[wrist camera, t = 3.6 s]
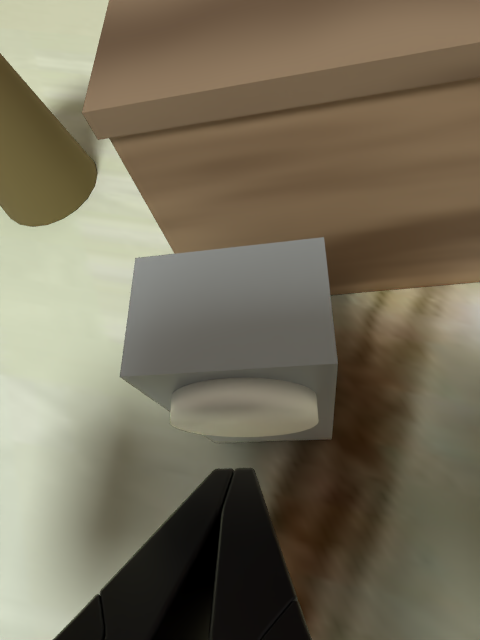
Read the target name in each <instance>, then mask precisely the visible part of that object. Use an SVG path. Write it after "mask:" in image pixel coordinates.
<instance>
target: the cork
mask: <svg viewBox="0 0 480 640" xmlns="http://www.w3.org/2000/svg"><path fill="white" fill-rule="evenodd" d="M96 177H97V170H96V166H95V163H94V162H93V160H92V159H91V158H90V157H89V155H88V154H87V153H86V152H85V151H84V150H83V148H82V147H81V146H80V145H79V144H78V143H77V141H76V140H75V139H74V138H73V137H72V136H71V135H70V133H69V132H68V131H67V130H66V129H65V128H64V126H63V125H62V124H61V123H60V122H59V121H58V119H57V118H56V117H55V116H54V115H53V114H52V113H51V111H50V110H49V109H48V108H47V107H46V106H45V104H44V103H43V102H42V101H41V100H40V99H39V98H38V96H37V95H36V94H35V93H34V92H33V91H32V89H31V88H30V87H29V86H28V85H27V84H26V82H25V81H24V80H23V79H22V78H21V77H20V76H19V74H18V73H17V72H16V71H15V70H14V69H13V67H12V66H11V65H10V64H9V63H8V62H7V61H6V59H5V58H4V57H3V56H2V55H1V54H0V206H1V207H2V208H3V209H4V211H5V212H6V213H7V215H8V216H9V217H10V218H11V219H12V220H14V221H15V222H17V223H18V224H21V225H26V226H32V227H33V226H41V225H48V224H50V223H53V222H56V221H58V220H61V219H63V218H65V217H66V216H68V215H69V214H71V213H72V212H74V211H75V210H77V209H78V208H79V207H80V206H81V205H82V203H83V202H84V201H85V200H86V199H87V198H88V197H89V195H90V193H91V191H92V190H93V188H94V186H95V182H96Z"/></svg>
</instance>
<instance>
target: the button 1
mask: <svg viewBox="0 0 480 640" xmlns="http://www.w3.org/2000/svg"><path fill="white" fill-rule="evenodd" d="M337 369H338V360H337V351H336V342H335V332H334V323H333V314H332V305H331V296H330V287H329V278H328V269H327V260H326V251H325V241H324V237H321V238H312V239H303V240H294V241H285V242H276V243H267V244H258V245H249V246H240V247H231V248H222V249H213V250H204V251H195V252H186V253H177V254H168V255H159V256H150V257H141V258H135V265H134V273H133V280H132V288H131V295H130V303H129V311H128V318H127V326H126V333H125V341H124V349H123V356H122V364H121V372H120V377H121V378H122V379H123V380H125V381H126V382H128V383H129V384H131V385H132V386H134V387H135V388H136V389H138V390H139V391H141V392H142V393H144V394H145V395H147V396H148V397H149V398H151V399H152V400H154V401H155V402H157V403H158V404H160V405H161V406H162V407H164V408H165V409H167V410H168V411H170V424H171V425H172V426H173V427H175V428H177V429H180V430H183V431H187V432H191V433H196V434H203V435H204V436H206V437H207V438H209V439H210V440H211V441H213V442H214V443H231V442H262V441H293V440H324V439H332V430H333V418H334V406H335V393H336V381H337Z"/></svg>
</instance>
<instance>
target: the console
mask: <svg viewBox="0 0 480 640" xmlns="http://www.w3.org/2000/svg"><path fill="white" fill-rule="evenodd" d="M82 114H83V115H84V117H85V119H86V120H87V122H88V124H89V125H90V127H91V129H92V131H93V132H94V134H95V136H96V137H97V139H98V140H100V139H106V138H109V139H110V140H111V142H112V144H113V146H114V147H115V149H116V151H117V153H118V155H119V156H120V158H121V160H122V162H123V163H124V165H125V167H126V169H127V170H128V172H129V174H130V176H131V177H132V179H133V181H134V183H135V185H136V186H137V188H138V190H139V192H140V193H141V195H142V197H143V199H144V200H145V202H146V204H147V206H148V207H149V209H150V211H151V213H152V215H153V216H154V218H155V220H156V222H157V223H158V225H159V227H160V229H161V230H162V232H163V234H164V236H165V237H166V239H167V241H168V243H169V245H170V246H171V248H172V250H173V252H174V253H175V254H177V253H186V252H195V251H204V250H213V249H222V248H231V247H240V246H249V245H258V244H267V243H276V242H285V241H294V240H303V239H312V238H321V237H324V241H325V251H326V260H327V269H328V278H329V287H330V295H337V294H348V293H360V292H371V291H382V290H394V289H405V288H416V287H428V286H439V285H450V284H461V283H473V282H480V0H109V3H108V7H107V12H106V16H105V20H104V24H103V28H102V32H101V36H100V40H99V44H98V48H97V53H96V57H95V61H94V65H93V69H92V73H91V77H90V81H89V85H88V89H87V94H86V98H85V102H84V106H83V110H82Z"/></svg>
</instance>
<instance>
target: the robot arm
mask: <svg viewBox="0 0 480 640" xmlns="http://www.w3.org/2000/svg"><path fill="white" fill-rule="evenodd" d="M53 640H312V638H311V636H310V633H309V630H308V628H307V625H306V622H305V619H304V616H303V613H302V610H301V607H300V604H299V602H298V600H297V596H296V593H295V590H294V587H293V584H292V581H291V578H290V575H289V572H288V569H287V566H286V563H285V560H284V557H283V554H282V551H281V548H280V545H279V542H278V539H277V536H276V533H275V530H274V527H273V524H272V521H271V518H270V515H269V512H268V509H267V506H266V503H265V500H264V497H263V494H262V491H261V488H260V485H259V482H258V479H257V476H256V473H255V471H254V469H253V468H237V469H235V470H233V469H231V468H229V469H215V470H214V471H212V473H211V474H210V475H209V476H208V477H207V478H206V479H205V480H204V481H203V482H202V483H201V484H200V485H199V486H198V487H197V488H196V490H195V491H194V492H193V493H192V494H191V495H190V496H189V497H188V498H187V499H186V500H185V501H184V502H183V503H182V504H181V505H180V507H179V508H178V509H177V510H176V511H175V512H174V513H173V514H172V515H171V516H170V517H169V518H168V519H167V520H166V521H165V523H164V524H163V525H162V526H161V527H160V528H159V529H158V530H157V531H156V532H155V533H154V534H153V535H152V536H151V537H150V538H149V540H148V541H147V542H146V543H145V544H144V545H143V546H142V547H141V548H140V549H139V550H138V551H137V552H136V553H135V554H134V555H133V557H132V558H131V559H130V560H129V561H128V562H127V563H126V564H125V565H124V566H123V567H122V568H121V569H120V570H119V571H118V573H117V574H116V575H115V576H114V577H113V578H112V579H111V580H110V581H109V582H108V583H107V584H106V585H105V586H104V587H103V588H102V590H101V591H100V595H99V594H97V595H96V596H95V597H94V598H93V599H92V600H91V601H90V602H89V603H88V604H87V605H86V606H85V607H84V608H83V610H82V611H81V612H80V613H79V614H78V615H77V616H76V617H75V618H74V619H73V620H72V621H71V622H70V623H69V624H68V625H67V626H66V627H65V628H64V629H63V630H62V631H61V632H60V633H59V634H58V635H57V636H56V637H55V638H54V639H53Z"/></svg>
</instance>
